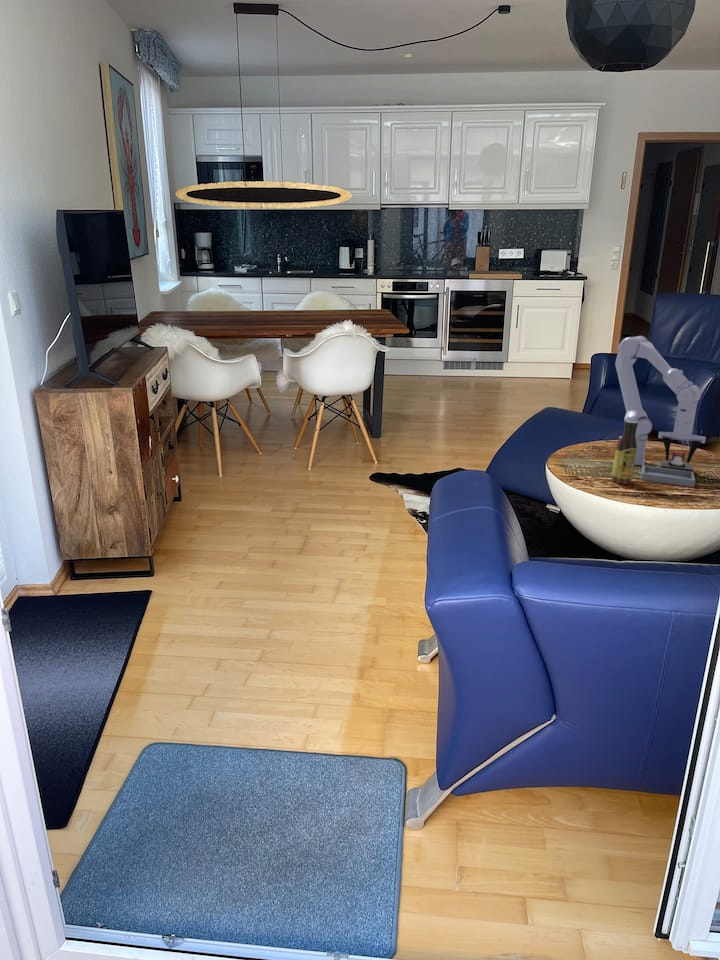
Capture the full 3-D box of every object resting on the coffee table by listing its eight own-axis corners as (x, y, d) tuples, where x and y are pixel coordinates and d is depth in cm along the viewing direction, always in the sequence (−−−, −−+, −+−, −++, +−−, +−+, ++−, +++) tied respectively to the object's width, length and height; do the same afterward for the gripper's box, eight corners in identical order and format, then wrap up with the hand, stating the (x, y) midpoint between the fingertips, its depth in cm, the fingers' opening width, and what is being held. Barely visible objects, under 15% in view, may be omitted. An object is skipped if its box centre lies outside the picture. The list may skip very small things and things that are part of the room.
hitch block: (659, 472, 245) (661, 465, 245) (659, 467, 252) (660, 460, 252) (691, 477, 242) (693, 469, 241) (690, 471, 249) (691, 464, 248)
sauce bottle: (621, 485, 229) (630, 424, 223) (606, 480, 234) (615, 420, 228) (635, 483, 232) (645, 423, 226) (620, 478, 237) (630, 418, 231)
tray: (640, 479, 236) (641, 473, 235) (641, 471, 246) (642, 465, 245) (694, 487, 231) (695, 480, 230) (692, 478, 241) (693, 471, 240)
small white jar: (669, 472, 246) (672, 452, 244) (668, 469, 250) (672, 450, 248) (682, 474, 245) (685, 454, 243) (681, 471, 248) (685, 451, 246)
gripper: (661, 421, 241) (654, 460, 245) (709, 426, 236) (701, 466, 240) (661, 417, 247) (654, 455, 251) (707, 422, 242) (700, 461, 246)
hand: (677, 460), depth 246 cm, fingers open, 6 cm apart
